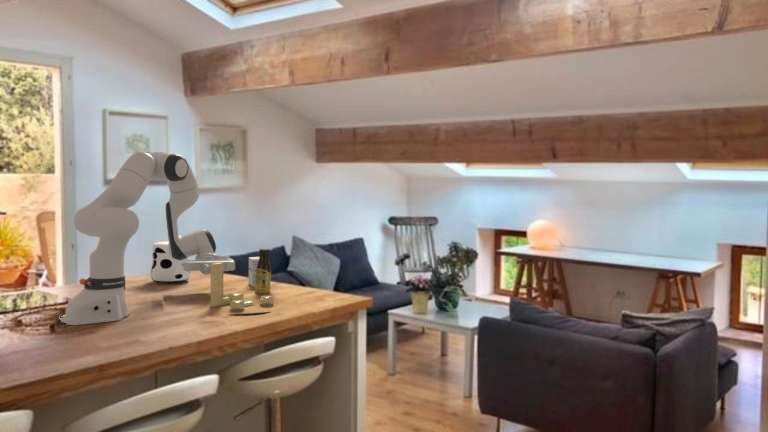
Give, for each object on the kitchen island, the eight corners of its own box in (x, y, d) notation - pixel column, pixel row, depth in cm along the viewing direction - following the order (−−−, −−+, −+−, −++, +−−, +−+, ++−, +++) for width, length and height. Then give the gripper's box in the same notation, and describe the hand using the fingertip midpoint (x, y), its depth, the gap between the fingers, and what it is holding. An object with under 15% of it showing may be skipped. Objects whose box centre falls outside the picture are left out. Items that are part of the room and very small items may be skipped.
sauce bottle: (251, 296, 264) (252, 248, 263) (261, 293, 270) (261, 247, 268) (264, 298, 261) (264, 250, 260) (273, 295, 267) (274, 248, 265)
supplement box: (248, 284, 290) (248, 257, 289) (264, 283, 293) (264, 256, 292) (251, 287, 284) (252, 259, 283) (268, 286, 287) (268, 258, 286)
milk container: (198, 281, 295) (198, 243, 294) (167, 287, 280) (167, 246, 279) (173, 277, 304) (173, 240, 303) (142, 282, 290) (142, 243, 288)
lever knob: (217, 307, 235) (217, 265, 234) (207, 305, 239) (207, 263, 237) (246, 301, 246) (246, 261, 245) (236, 299, 250) (236, 259, 248)
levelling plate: (237, 318, 225) (237, 306, 224) (205, 308, 240) (205, 296, 240) (287, 309, 241) (287, 298, 240) (254, 300, 256) (254, 289, 255)
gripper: (181, 256, 259) (183, 260, 246) (232, 255, 266) (237, 259, 253) (181, 271, 259) (183, 276, 247) (232, 270, 267) (236, 275, 254)
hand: (210, 268), depth 250 cm, fingers closed
